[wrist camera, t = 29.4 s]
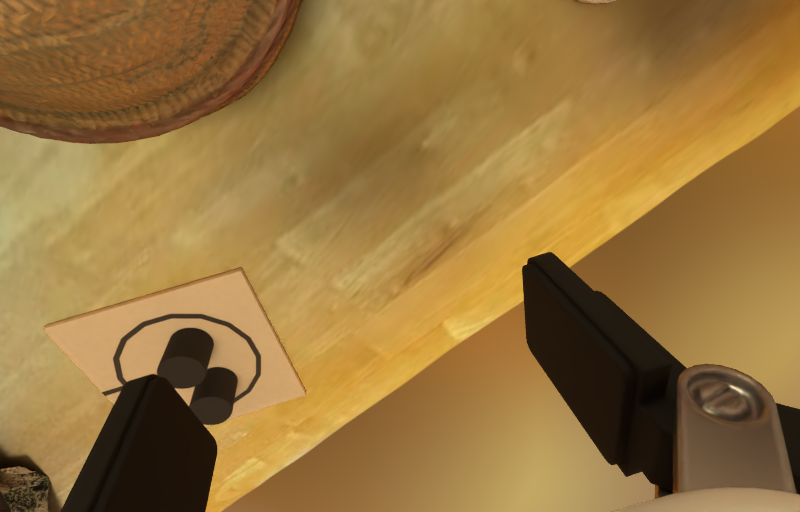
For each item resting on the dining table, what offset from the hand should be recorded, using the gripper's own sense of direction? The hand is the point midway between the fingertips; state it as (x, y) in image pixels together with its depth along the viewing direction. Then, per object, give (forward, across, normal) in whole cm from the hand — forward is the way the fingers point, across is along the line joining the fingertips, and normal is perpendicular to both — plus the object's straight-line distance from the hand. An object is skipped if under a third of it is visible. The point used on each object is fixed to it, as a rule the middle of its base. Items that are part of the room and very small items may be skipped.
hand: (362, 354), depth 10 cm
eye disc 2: (+26, +19, +22) cm, 38 cm away
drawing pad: (+26, +20, +19) cm, 38 cm away
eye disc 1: (+26, +19, +16) cm, 36 cm away
